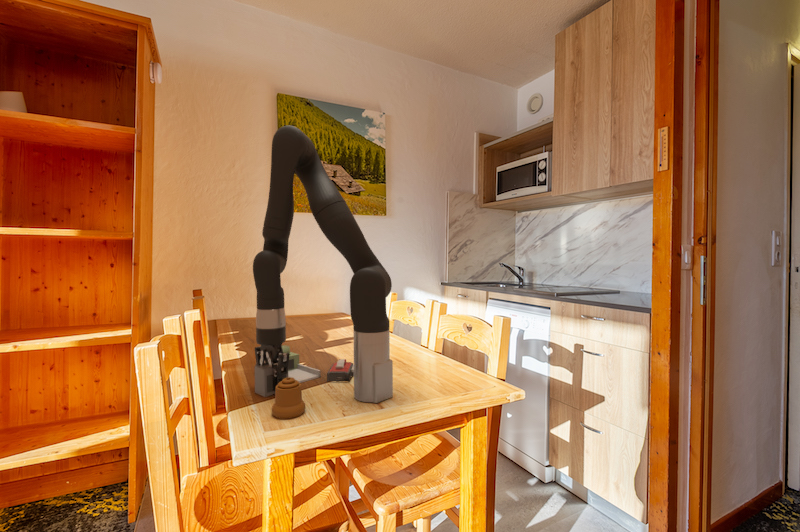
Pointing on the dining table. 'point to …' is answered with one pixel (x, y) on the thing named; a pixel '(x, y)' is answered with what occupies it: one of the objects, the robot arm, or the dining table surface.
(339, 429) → the dining table surface
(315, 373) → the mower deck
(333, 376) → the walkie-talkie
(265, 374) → the grey cube box
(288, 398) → the ornamental finial
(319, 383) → the dining table surface
